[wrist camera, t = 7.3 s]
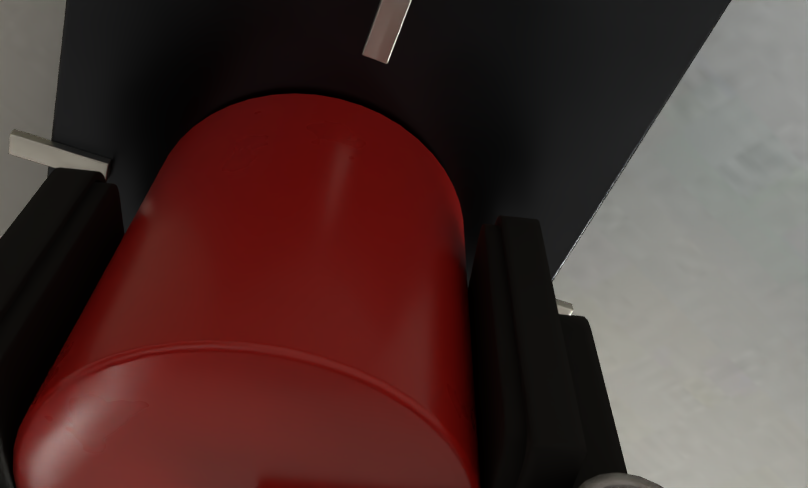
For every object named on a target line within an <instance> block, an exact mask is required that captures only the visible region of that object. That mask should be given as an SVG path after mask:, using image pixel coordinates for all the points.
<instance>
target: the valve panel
mask: <svg viewBox="0 0 808 488" xmlns="http://www.w3.org/2000/svg"><path fill="white" fill-rule="evenodd" d="M730 2H731V0H66V9H65V18H64V27H63V37H62V46H61V55H60V64H59V74H58V83H57V92H56V101H55V110H54V120H53V129H52V138H51V140H48V139H45V138H42V137H38V136H35V135H32V134H29V133H26V132H22V131H19V130H16V129H14V130H13V131H12V132H11V133H10V141H9V154H11V155H14V156H17V157H20V158H24V159H27V160H30V161H33V162H37V163H40V164H43V165H46V166H48V175H47V178H48V176H49V175H50V174H51V172H52V171H53V170H54V169H56V168H59V167H62V168H72V169H81V170H90V171H99V172H101V173H102V174H103V175H104V177H105V179H106V183H113V184H115V185H117V187H118V190H119V195H120V202H121V210H122V218H123V226H124V234H125V233H126V231H127V229H128V227H129V226H130V224H131V222H132V220H133V218H134V217H135V215H136V213H137V211H138V209H139V207H140V206H141V204H142V202H143V200H144V198H145V197H146V195H147V193H148V191H149V189H150V187H151V186H152V184H153V182H154V180H155V178H156V177H157V175H158V173H159V171H160V169H161V167H162V166H163V164H164V162H165V160H166V158H167V157H168V155H169V153H170V152H171V151H172V149H173V148H174V147H175V145H176V144H177V143H178V141H179V140H180V139H181V138H182V137H183V136H184V135H185V134H186V133H187V132H188V131H189V130H191V129H192V128H193V127H194V126H195V125H197V124H198V123H199V122H201V121H202V120H204V119H205V118H207V117H208V116H210V115H211V114H213V113H215V112H217V111H219V110H221V109H224V108H226V107H228V106H230V105H233V104H236V103H239V102H242V101H245V100H248V99H253V98H258V97H263V96H268V95H276V94H291V93H297V94H315V95H322V96H327V97H333V98H339V99H342V100H345V101H349V102H352V103H355V104H359V105H362V106H364V107H366V108H368V109H371V110H373V111H375V112H378V113H380V114H382V115H384V116H385V117H387V118H389V119H390V120H392V121H394V122H396V123H397V124H399V125H400V126H402V127H403V128H404V129H406V130H407V131H408V132H410V133H411V134H412V135H413V136H415V137H416V138H417V139H418V140H419V141H420V142H421V143H422V144H423V145H424V146H425V147H426V148H427V149H428V150H429V151H430V152H431V153H432V154H433V155H434V156H435V158H436V159H437V160H438V162H439V163H440V164H441V166H442V167H443V168H444V170H445V171H446V173H447V175H448V177H449V179H450V180H451V182H452V184H453V186H454V189H455V191H456V194H457V197H458V199H459V202H460V206H461V211H462V216H463V224H464V239H465V254H466V270H467V285H468V286H469V281H470V276H471V272H472V267H473V262H474V258H475V253H476V248H477V243H478V239H479V234H480V230H481V227H482V225H483V224H491V225H495V223H496V220H497V217H498V216H499V215H503V216H512V217H521V218H530V219H537V220H539V223H540V226H541V231H542V236H543V240H544V245H545V250H546V255H547V260H548V265H549V269H550V274H551V279H552V281H553V280H554V278H555V277H556V275H557V273H558V272H559V270H560V269H561V267H562V266H563V264H564V262H565V261H566V259H567V258H568V256H569V255H570V253H571V251H572V250H573V248H574V247H575V245H576V244H577V242H578V240H579V239H580V237H581V236H582V234H583V233H584V231H585V229H586V228H587V226H588V225H589V223H590V222H591V220H592V218H593V217H594V215H595V214H596V212H597V211H598V209H599V207H600V206H601V204H602V203H603V201H604V200H605V198H606V196H607V195H608V193H609V192H610V190H611V189H612V187H613V185H614V184H615V182H616V181H617V179H618V178H619V176H620V174H621V173H622V171H623V170H624V168H625V167H626V165H627V163H628V162H629V160H630V159H631V157H632V156H633V154H634V152H635V151H636V149H637V148H638V146H639V145H640V143H641V141H642V140H643V138H644V137H645V135H646V134H647V132H648V130H649V129H650V127H651V126H652V124H653V123H654V121H655V119H656V118H657V116H658V115H659V113H660V112H661V110H662V108H663V107H664V105H665V104H666V102H667V101H668V99H669V97H670V96H671V94H672V93H673V91H674V90H675V88H676V86H677V85H678V83H679V82H680V80H681V79H682V77H683V75H684V74H685V72H686V71H687V69H688V68H689V66H690V64H691V63H692V61H693V60H694V58H695V57H696V55H697V53H698V52H699V50H700V49H701V47H702V46H703V44H704V42H705V41H706V39H707V38H708V36H709V35H710V33H711V31H712V30H713V28H714V27H715V25H716V24H717V22H718V20H719V19H720V17H721V16H722V14H723V13H724V11H725V9H726V8H727V6H728V5H729V3H730ZM556 303H557V308H558V313H559V314H564V315H570V314H571V313H572V311H573V306H572V304H570V303H567V302H564V301H561V300H558V299H556Z"/></svg>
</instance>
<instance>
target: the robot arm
mask: <svg viewBox="0 0 808 488" xmlns="http://www.w3.org/2000/svg"><path fill="white" fill-rule="evenodd" d="M124 235H125V234H124V226H123V218H122V210H121V202H120V195H119V190H118V187H117V185H115V184H113V183H106V179H105V177H104V175H103V174H102V173H101V172H99V171H90V170H81V169H72V168H62V167H59V168H56V169H54V170H53V171H52V172H51V174H50V175H49V176H48V178H47V179H46V180H45V181H44V183H43V184H42V185H41V187H40V188H39V189H38V191H37V192H36V193H35V194H34V196H33V197H32V198H31V200H30V201H29V202H28V204H27V205H26V206H25V208H24V209H23V210H22V211H21V213H20V214H19V215H18V217H17V218H16V219H15V221H14V222H13V223H12V224H11V226H10V227H9V228H8V230H7V231H6V232H5V234H4V235H3V236H2V238H1V239H0V488H16V485H15V480H14V475H13V447H14V443H15V440H16V436H17V432H18V428H19V427H20V425H21V423H22V421H23V419H24V417H25V415H26V413H27V411H28V409H29V407H30V406H31V404H32V402H33V400H34V398H35V397H36V395H37V393H38V391H39V389H40V387H41V386H42V384H43V382H44V380H45V378H46V377H47V375H48V373H49V371H50V369H51V367H52V366H53V364H54V362H55V360H56V358H57V357H58V355H59V353H60V351H61V349H62V347H63V346H64V344H65V342H66V340H67V338H68V337H69V335H70V333H71V331H72V329H73V327H74V326H75V324H76V322H77V320H78V318H79V317H80V315H81V313H82V311H83V309H84V307H85V306H86V304H87V302H88V300H89V298H90V297H91V295H92V293H93V291H94V289H95V287H96V286H97V284H98V282H99V280H100V278H101V277H102V275H103V273H104V271H105V269H106V267H107V266H108V264H109V262H110V260H111V258H112V257H113V255H114V253H115V251H116V249H117V247H118V246H119V244H120V242H121V240H122V238H123V237H124ZM468 300H469V315H470V330H471V345H472V361H473V376H474V391H475V406H476V421H477V437H478V452H479V467H480V482H481V488H663V487H661V486H660V485H658V484H656V483H654V482H651V481H649V480H647V479H645V478H642V477H640V476H635V475H630V474H627V470H626V466H625V462H624V458H623V454H622V450H621V446H620V442H619V438H618V434H617V430H616V426H615V422H614V418H613V415H612V411H611V407H610V403H609V399H608V395H607V391H606V387H605V383H604V379H603V375H602V371H601V367H600V363H599V359H598V355H597V351H596V347H595V343H594V339H593V335H592V331H591V328H590V325H589V322H588V320H587V319H586V318H585V317H584V316H574V315H564V314H559V313H558V308H557V303H556V299H555V294H554V289H553V284H552V279H551V274H550V269H549V265H548V260H547V255H546V250H545V245H544V240H543V236H542V231H541V226H540V223H539V220H537V219H530V218H521V217H512V216H503V215H499V216H498V217H497V220H496V223H495V225H491V224H483V225H482V227H481V230H480V234H479V239H478V243H477V248H476V253H475V258H474V262H473V267H472V272H471V276H470V281H469V286H468Z"/></svg>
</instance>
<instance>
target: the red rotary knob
mask: <svg viewBox="0 0 808 488" xmlns="http://www.w3.org/2000/svg"><path fill="white" fill-rule="evenodd" d="M13 475H14V480H15V485H16V488H481V482H480V467H479V452H478V437H477V421H476V406H475V391H474V376H473V361H472V345H471V330H470V315H469V300H468V285H467V270H466V254H465V239H464V224H463V216H462V211H461V206H460V202H459V199H458V197H457V194H456V191H455V189H454V186H453V184H452V182H451V180H450V179H449V177H448V175H447V173H446V171H445V170H444V168H443V167H442V166H441V164H440V163H439V162H438V160H437V159H436V158H435V156H434V155H433V154H432V153H431V152H430V151H429V150H428V149H427V148H426V147H425V146H424V145H423V144H422V143H421V142H420V141H419V140H418V139H417V138H416V137H415V136H413V135H412V134H411V133H410V132H408V131H407V130H406V129H404V128H403V127H402V126H400V125H399V124H397V123H396V122H394V121H392V120H390V119H389V118H387V117H385V116H384V115H382V114H380V113H378V112H375V111H373V110H371V109H368V108H366V107H364V106H362V105H359V104H355V103H352V102H349V101H345V100H342V99H339V98H333V97H327V96H322V95H315V94H297V93H291V94H276V95H268V96H263V97H258V98H253V99H248V100H245V101H242V102H239V103H236V104H233V105H230V106H228V107H226V108H224V109H221V110H219V111H217V112H215V113H213V114H211V115H210V116H208V117H207V118H205V119H204V120H202V121H201V122H199V123H198V124H197V125H195V126H194V127H193V128H192V129H191V130H189V131H188V132H187V133H186V134H185V135H184V136H183V137H182V138H181V139H180V140H179V141H178V143H177V144H176V145H175V147H174V148H173V149H172V151H171V152H170V153H169V155H168V157H167V158H166V160H165V162H164V164H163V166H162V167H161V169H160V171H159V173H158V175H157V177H156V178H155V180H154V182H153V184H152V186H151V187H150V189H149V191H148V193H147V195H146V197H145V198H144V200H143V202H142V204H141V206H140V207H139V209H138V211H137V213H136V215H135V217H134V218H133V220H132V222H131V224H130V226H129V227H128V229H127V231H126V233H125V235H124V237H123V238H122V240H121V242H120V244H119V246H118V247H117V249H116V251H115V253H114V255H113V257H112V258H111V260H110V262H109V264H108V266H107V267H106V269H105V271H104V273H103V275H102V277H101V278H100V280H99V282H98V284H97V286H96V287H95V289H94V291H93V293H92V295H91V297H90V298H89V300H88V302H87V304H86V306H85V307H84V309H83V311H82V313H81V315H80V317H79V318H78V320H77V322H76V324H75V326H74V327H73V329H72V331H71V333H70V335H69V337H68V338H67V340H66V342H65V344H64V346H63V347H62V349H61V351H60V353H59V355H58V357H57V358H56V360H55V362H54V364H53V366H52V367H51V369H50V371H49V373H48V375H47V377H46V378H45V380H44V382H43V384H42V386H41V387H40V389H39V391H38V393H37V395H36V397H35V398H34V400H33V402H32V404H31V406H30V407H29V409H28V411H27V413H26V415H25V417H24V419H23V421H22V423H21V425H20V427H19V428H18V432H17V436H16V440H15V443H14V447H13Z"/></svg>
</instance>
